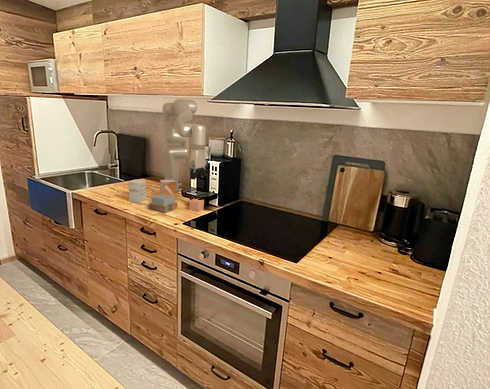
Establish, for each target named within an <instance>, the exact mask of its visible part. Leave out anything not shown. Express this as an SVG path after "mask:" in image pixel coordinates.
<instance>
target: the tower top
mask: <svg viewBox="0 0 490 389" xmlns="http://www.w3.org/2000/svg"><path fill="white" fill-rule="evenodd" d="M150 200H151V202H150V203H151V204H155V205H160V206H167V205H170V204H172V203H174V196H171V195H167V194H160V193H159V194H157V195H153V196H151V198H150Z"/></svg>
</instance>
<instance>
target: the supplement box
mask: <svg viewBox="0 0 490 389" xmlns="http://www.w3.org/2000/svg"><path fill="white" fill-rule="evenodd" d="M146 194H147V180H143V179H142V180H141V179H133V180H130V181H128V202H131V203H138V204H141V203H143V202H146V200H147V195H146Z"/></svg>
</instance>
